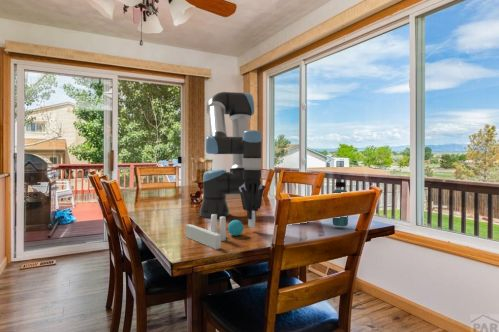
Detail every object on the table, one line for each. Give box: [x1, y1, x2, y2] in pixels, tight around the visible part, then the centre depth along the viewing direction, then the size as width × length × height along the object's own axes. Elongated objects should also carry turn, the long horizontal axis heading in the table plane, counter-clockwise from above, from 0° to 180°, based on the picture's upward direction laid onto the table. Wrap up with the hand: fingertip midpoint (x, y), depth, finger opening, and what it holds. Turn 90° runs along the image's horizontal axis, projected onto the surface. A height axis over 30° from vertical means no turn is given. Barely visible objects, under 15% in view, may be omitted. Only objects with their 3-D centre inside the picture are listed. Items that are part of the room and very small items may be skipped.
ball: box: [227, 219, 244, 237], centre depth 117 cm, size 6×6×6 cm
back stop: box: [185, 223, 222, 250], centre depth 108 cm, size 20×2×4 cm, turn 41°
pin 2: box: [219, 216, 227, 242], centre depth 110 cm, size 2×2×8 cm
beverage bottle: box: [332, 181, 349, 227], centre depth 130 cm, size 6×7×20 cm
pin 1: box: [210, 214, 218, 233], centre depth 115 cm, size 2×2×8 cm
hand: (251, 226), depth 123 cm, fingers closed
